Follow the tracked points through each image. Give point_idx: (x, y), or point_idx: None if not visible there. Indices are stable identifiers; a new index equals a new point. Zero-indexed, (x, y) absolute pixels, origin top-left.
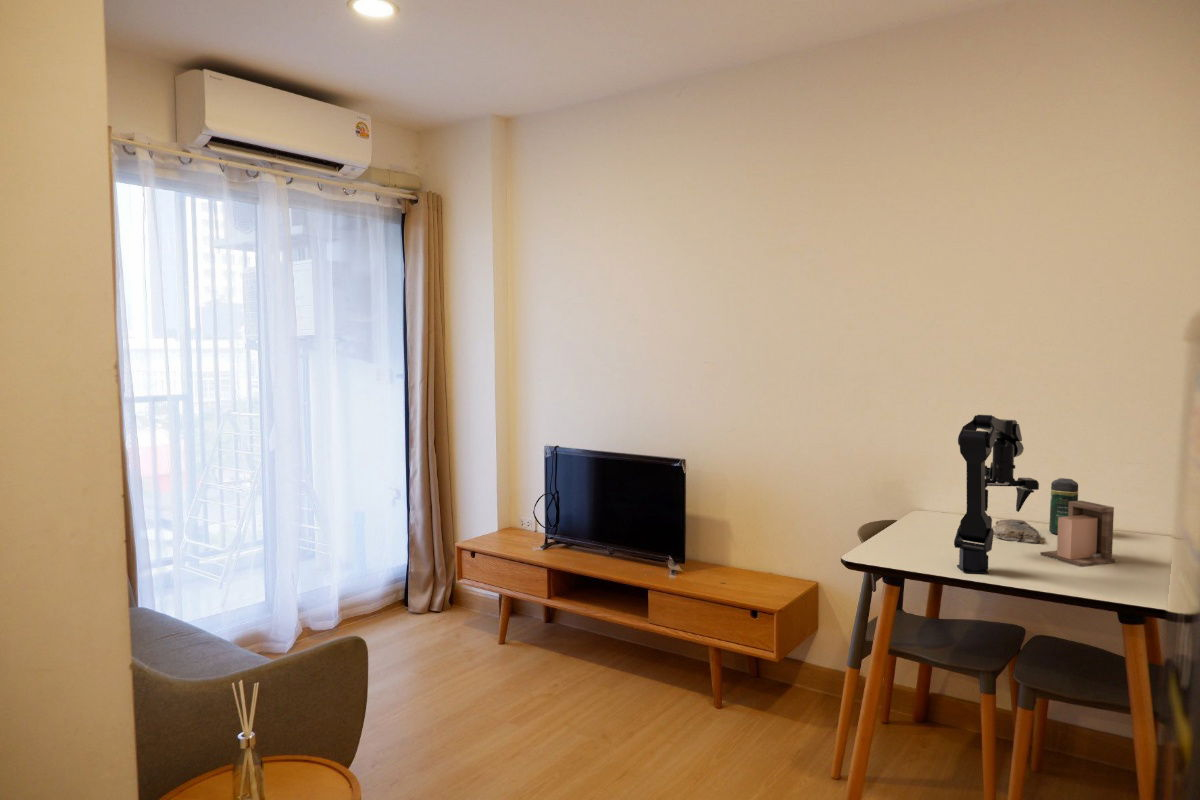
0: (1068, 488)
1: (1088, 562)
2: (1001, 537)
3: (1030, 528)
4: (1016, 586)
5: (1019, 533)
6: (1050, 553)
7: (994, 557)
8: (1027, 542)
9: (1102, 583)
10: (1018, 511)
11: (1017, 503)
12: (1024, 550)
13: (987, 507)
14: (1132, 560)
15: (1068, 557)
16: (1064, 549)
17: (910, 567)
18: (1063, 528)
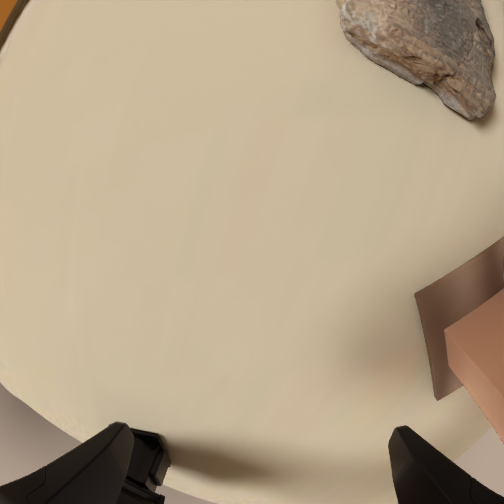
0: None
1: None
2: (359, 45)
3: (480, 27)
4: (208, 500)
5: (436, 70)
6: (439, 310)
7: (223, 352)
8: (443, 102)
9: (381, 478)
10: (392, 446)
11: (416, 486)
12: (390, 230)
13: (126, 470)
14: None
15: (449, 363)
16: (458, 365)
17: (40, 407)
18: (496, 406)
